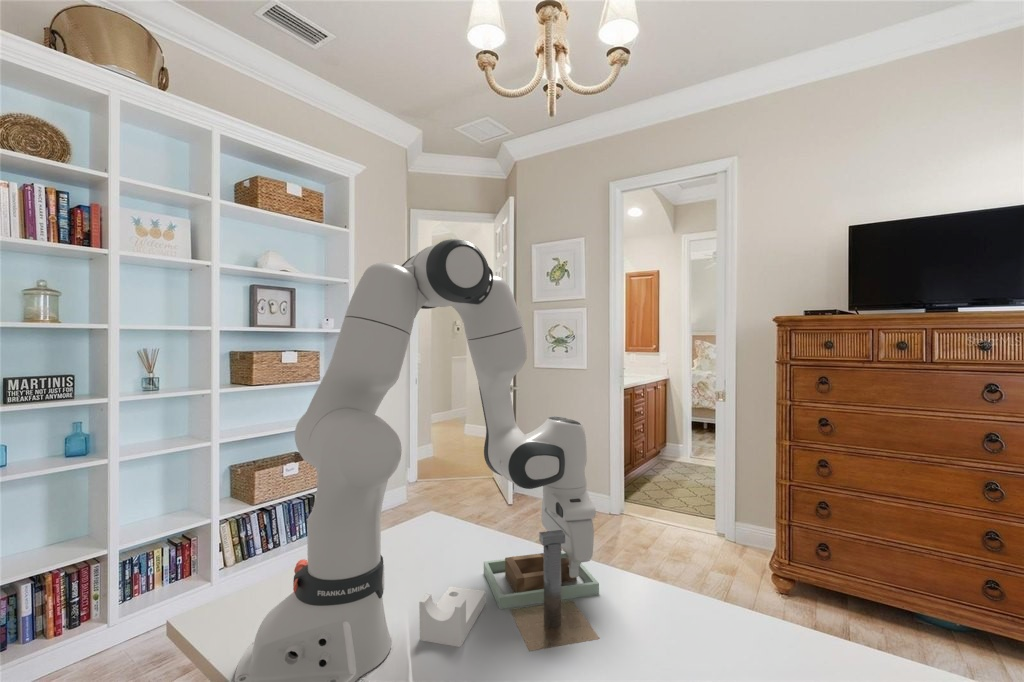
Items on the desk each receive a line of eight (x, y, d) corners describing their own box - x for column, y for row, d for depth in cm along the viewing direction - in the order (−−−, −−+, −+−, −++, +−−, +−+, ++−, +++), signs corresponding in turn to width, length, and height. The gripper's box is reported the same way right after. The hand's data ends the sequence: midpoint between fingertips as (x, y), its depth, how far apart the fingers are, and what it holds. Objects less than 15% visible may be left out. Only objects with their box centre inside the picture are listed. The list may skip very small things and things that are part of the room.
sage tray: (499, 614, 87) (499, 597, 87) (483, 575, 101) (483, 561, 101) (599, 598, 92) (599, 583, 92) (570, 564, 106) (570, 550, 106)
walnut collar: (516, 599, 91) (516, 578, 91) (505, 577, 100) (505, 557, 100) (583, 589, 94) (583, 569, 94) (566, 568, 103) (566, 550, 103)
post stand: (529, 657, 75) (528, 552, 75) (510, 614, 87) (509, 523, 87) (599, 644, 78) (599, 543, 78) (572, 605, 90) (571, 517, 90)
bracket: (460, 654, 76) (460, 607, 76) (419, 647, 78) (419, 601, 78) (485, 610, 89) (485, 569, 89) (449, 605, 91) (449, 565, 91)
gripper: (534, 483, 107) (534, 545, 107) (567, 515, 87) (567, 591, 87) (561, 481, 109) (561, 542, 109) (599, 512, 89) (599, 587, 89)
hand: (564, 564), depth 98 cm, fingers open, 8 cm apart
